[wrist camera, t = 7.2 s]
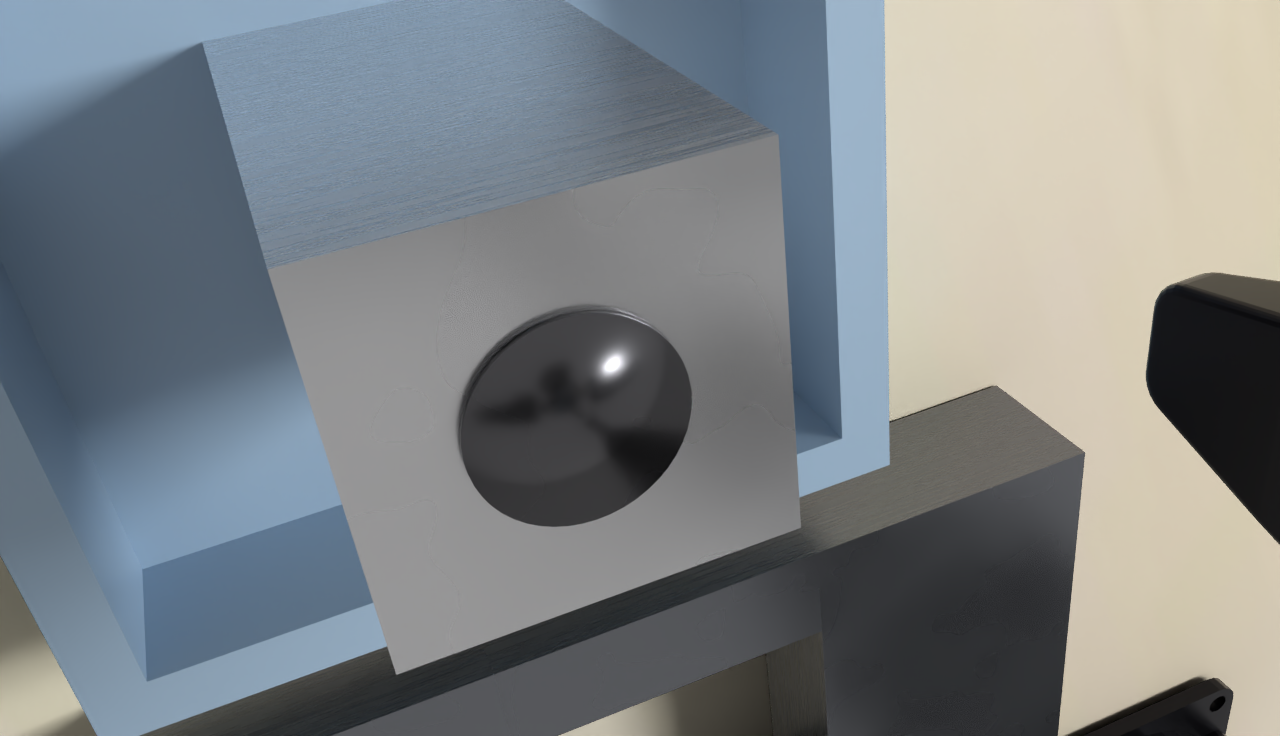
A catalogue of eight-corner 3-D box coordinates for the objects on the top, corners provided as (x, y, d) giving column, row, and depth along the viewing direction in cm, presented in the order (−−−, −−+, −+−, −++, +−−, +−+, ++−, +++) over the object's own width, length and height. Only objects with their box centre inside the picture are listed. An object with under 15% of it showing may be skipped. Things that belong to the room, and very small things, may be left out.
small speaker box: (522, -27, 15) (783, 138, 9) (568, 255, 17) (806, 533, 11) (201, 41, 14) (267, 275, 8) (293, 332, 16) (398, 681, 10)
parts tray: (747, -423, 14) (878, -449, 12) (796, 375, 20) (889, 464, 18) (-329, -279, 11) (-447, -276, 9) (104, 603, 17) (103, 748, 15)
